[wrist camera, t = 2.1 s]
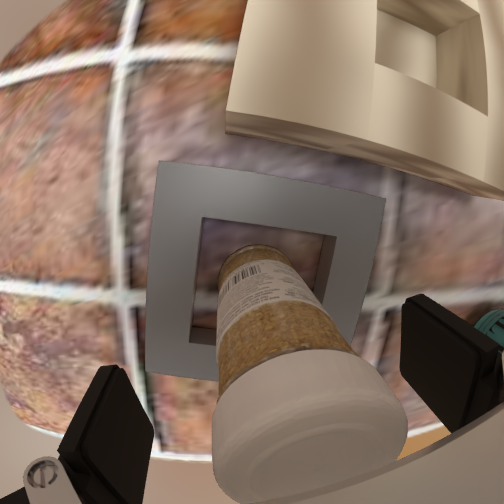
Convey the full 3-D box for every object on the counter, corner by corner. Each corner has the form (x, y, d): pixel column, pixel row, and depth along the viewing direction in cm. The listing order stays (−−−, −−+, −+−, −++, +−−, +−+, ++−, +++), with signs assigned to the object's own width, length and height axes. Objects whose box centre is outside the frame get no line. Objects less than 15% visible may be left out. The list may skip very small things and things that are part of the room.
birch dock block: (476, 36, 15) (523, 18, 9) (473, 195, 18) (533, 206, 12) (262, -47, 13) (274, -103, 7) (225, 133, 16) (226, 110, 10)
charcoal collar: (370, 195, 18) (386, 198, 16) (328, 369, 20) (336, 386, 18) (166, 162, 16) (158, 160, 14) (151, 354, 19) (145, 371, 17)
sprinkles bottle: (238, 327, 19) (263, 531, 6) (204, 262, 18) (167, 452, 5) (306, 295, 19) (419, 469, 6) (277, 228, 18) (401, 356, 5)
